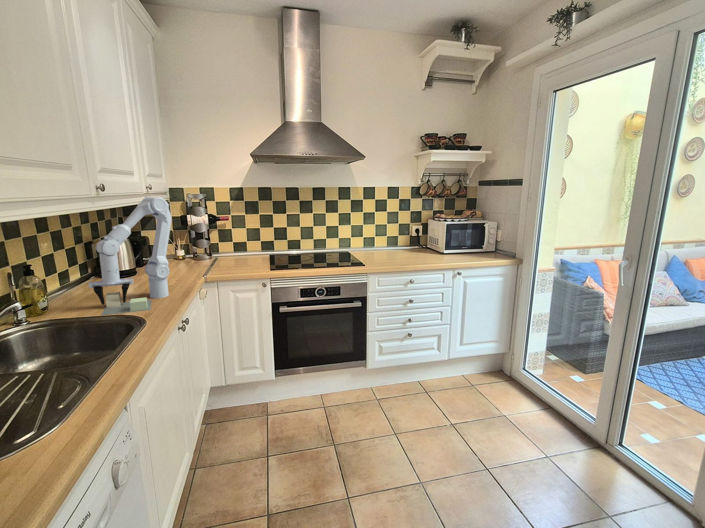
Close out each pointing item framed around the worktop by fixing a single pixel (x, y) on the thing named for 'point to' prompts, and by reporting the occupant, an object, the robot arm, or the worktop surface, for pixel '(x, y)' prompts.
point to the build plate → (122, 308)
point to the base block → (138, 304)
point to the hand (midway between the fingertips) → (113, 303)
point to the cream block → (113, 299)
